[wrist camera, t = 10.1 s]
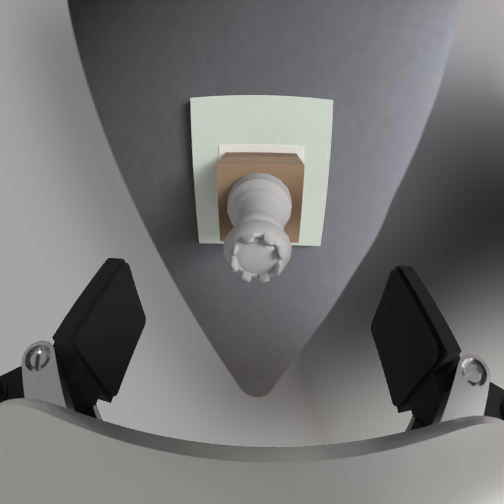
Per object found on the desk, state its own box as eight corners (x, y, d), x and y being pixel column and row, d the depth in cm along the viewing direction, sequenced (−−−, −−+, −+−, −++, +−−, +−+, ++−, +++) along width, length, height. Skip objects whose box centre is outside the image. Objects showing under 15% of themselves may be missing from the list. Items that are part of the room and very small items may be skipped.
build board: (193, 98, 21) (190, 97, 20) (330, 100, 20) (333, 100, 19) (201, 238, 28) (199, 243, 27) (318, 241, 27) (320, 246, 26)
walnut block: (226, 152, 22) (216, 163, 18) (296, 153, 22) (304, 165, 18) (227, 216, 25) (220, 241, 21) (292, 217, 25) (298, 243, 21)
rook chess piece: (233, 232, 20) (217, 303, 13) (223, 175, 18) (197, 221, 11) (293, 226, 20) (307, 296, 13) (288, 167, 18) (304, 210, 11)
